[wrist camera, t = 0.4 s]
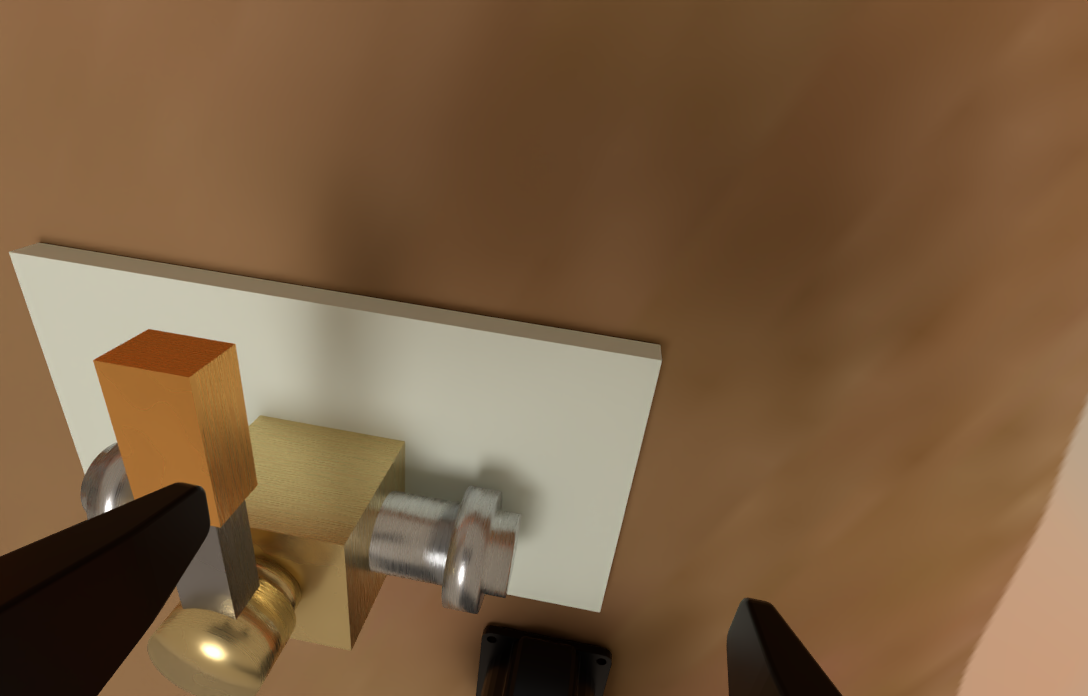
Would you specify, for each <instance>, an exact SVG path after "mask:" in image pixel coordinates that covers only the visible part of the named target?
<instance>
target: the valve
mask: <svg viewBox="0 0 1088 696" xmlns="http://www.w3.org/2000/svg"><path fill="white" fill-rule="evenodd" d="M249 433H250V439H251V445H252V451H253V458H254V464H255V470H256V477H257V483H258V485H257V486H256V488H255V489H254V490H253V491H252V492H251V493H250V494H249V496H248V497H247V498H246V499H245V502H246V508H247V514H248V519H249V525H250V531H251V536H252V542H253V548H254V554H255V559H256V565H257V571H258V576H259V578H261V579H263V580H264V581H266V582H268V583H269V584H271V585H272V586H274V587H275V588H276V589H278V590H279V591H280V592H281V593H282V594H283V595H284V596H285V597H286V598H287V599H288V601H289V602H290V604H291V605H292V607H293V609H294V611H295V615H296V627H295V629H294V631H293V633H292V635H291V636H290V638H292V639H297V640H302V641H307V642H311V643H316V644H321V645H326V646H331V647H336V648H340V649H345V650H350V651H351V650H352V648H353V646H354V644H355V642H356V640H357V637H358V635H359V633H360V631H361V629H362V627H363V625H364V623H365V620H366V618H367V616H368V614H369V612H370V610H371V608H372V605H373V603H374V601H375V599H376V597H377V595H378V593H379V591H380V588H381V586H382V584H383V582H384V580H385V578H386V576H387V575H391V576H396V577H401V578H406V579H411V580H416V581H421V582H427V583H432V584H437V585H442V605H443V607H444V608H449V609H454V610H459V611H464V612H469V613H474V614H478V612H479V610H480V608H481V605H482V602H483V599H484V595H485V594H488V595H493V596H498V597H503V598H506V595H507V592H508V588H509V584H510V579H511V575H512V570H513V565H514V560H515V554H516V549H517V543H518V537H519V530H520V523H521V514H518V513H513V512H507V511H502V491H497V490H492V489H486V488H481V487H476V486H469V487H468V489H467V490H466V492H465V494H464V496H463V499H462V501H461V503H459V502H454V501H448V500H443V499H438V498H432V497H427V496H422V495H416V494H411V493H406V492H405V441H400V440H395V439H389V438H384V437H378V436H373V435H367V434H362V433H356V432H350V431H345V430H339V429H334V428H328V427H323V426H317V425H312V424H306V423H301V422H295V421H290V420H284V419H279V418H273V417H267V416H262V415H260V416H259V417H258V418H257V419H256V420H255V421H254V422H253V423H252V424H251V425H249ZM133 500H134V497H133V494H132V490H131V487H130V484H129V480H128V477H127V473H126V470H125V467H124V463H123V460H122V457H121V453H120V450H119V447H118V443H117V442H116V443H114V444H112V445H110V446H108V447H107V448H105V449H104V450H103V451H102V452H101V453H100V454H99V455H98V456H97V457H96V458H95V459H94V460H93V462H92V463H91V465H90V466H89V468H88V470H87V472H86V474H85V476H84V479H83V482H82V486H81V502H82V506H83V508H84V510H85V511H86V512H87V518H88V519H90V518H93V517H95V516H97V515H100V514H102V513H104V512H107V511H109V510H112V509H114V508H116V507H119V506H121V505H123V504H126V503H128V502H130V501H133Z"/></svg>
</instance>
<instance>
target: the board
mask: <svg viewBox="0 0 1088 696" xmlns="http://www.w3.org/2000/svg"><path fill="white" fill-rule="evenodd" d="M9 254H10V257H11V260H12V263H13V266H14V268H15V271H16V274H17V277H18V280H19V283H20V286H21V289H22V292H23V295H24V298H25V301H26V304H27V306H28V309H29V312H30V315H31V318H32V321H33V324H34V327H35V330H36V333H37V336H38V339H39V342H40V344H41V347H42V350H43V353H44V356H45V359H46V362H47V365H48V368H49V371H50V374H51V377H52V380H53V382H54V385H55V388H56V391H57V394H58V397H59V400H60V403H61V406H62V409H63V412H64V415H65V418H66V420H67V423H68V426H69V429H70V432H71V435H72V438H73V441H74V444H75V447H76V450H77V453H78V456H79V459H80V461H81V464H82V467H83V470H84V473H85V474H86V472H87V470H88V468H89V466H90V465H91V463H92V462H93V460H94V459H95V458H96V457H97V456H98V455H99V454H100V453H101V452H102V451H103V450H104V449H105V448H107V447H108V446H110V445H112V444H114V443H116V442H117V440H116V436H115V433H114V430H113V426H112V423H111V420H110V416H109V413H108V410H107V406H106V403H105V399H104V396H103V393H102V389H101V386H100V383H99V379H98V376H97V373H96V369H95V366H94V362H93V360H94V359H96V358H98V357H100V356H101V355H103V354H105V353H107V352H108V351H110V350H112V349H114V348H116V347H117V346H119V345H121V344H123V343H124V342H126V341H128V340H130V339H132V338H133V337H135V336H137V335H139V334H140V333H142V332H144V331H146V330H148V329H152V330H158V331H164V332H169V333H175V334H181V335H187V336H193V337H198V338H204V339H210V340H216V341H222V342H227V343H233V344H236V350H237V357H238V363H239V369H240V376H241V382H242V388H243V395H244V401H245V407H246V414H247V420H248V426H249V425H251V424H252V423H253V422H254V421H255V420H256V419H257V418H258V417H259V416H260V415H262V416H267V417H273V418H279V419H284V420H290V421H295V422H301V423H306V424H312V425H317V426H323V427H328V428H334V429H339V430H345V431H350V432H356V433H362V434H367V435H373V436H378V437H384V438H389V439H395V440H400V441H405V492H406V493H411V494H416V495H422V496H427V497H432V498H438V499H443V500H448V501H454V502H459V503H461V501H462V499H463V496H464V494H465V492H466V490H467V489H468V487H469V486H476V487H481V488H486V489H492V490H497V491H502V511H507V512H513V513H518V514H521V523H520V530H519V537H518V543H517V549H516V554H515V560H514V565H513V570H512V575H511V579H510V584H509V588H508V592H507V594H508V595H513V596H518V597H523V598H529V599H534V600H539V601H544V602H549V603H554V604H559V605H564V606H569V607H574V608H580V609H585V610H590V611H595V612H600V610H601V606H602V602H603V598H604V594H605V590H606V585H607V581H608V577H609V573H610V569H611V565H612V561H613V557H614V553H615V549H616V545H617V541H618V537H619V533H620V529H621V525H622V521H623V517H624V513H625V509H626V505H627V501H628V496H629V492H630V488H631V484H632V480H633V476H634V472H635V468H636V464H637V460H638V456H639V452H640V448H641V444H642V440H643V436H644V432H645V428H646V424H647V420H648V416H649V411H650V407H651V403H652V399H653V395H654V391H655V387H656V383H657V379H658V375H659V371H660V367H661V363H662V355H661V346H660V345H659V344H653V343H646V342H640V341H634V340H628V339H622V338H616V337H610V336H604V335H598V334H592V333H586V332H580V331H574V330H567V329H561V328H555V327H549V326H543V325H537V324H531V323H525V322H519V321H513V320H507V319H501V318H495V317H488V316H482V315H476V314H470V313H464V312H458V311H452V310H446V309H440V308H434V307H428V306H422V305H415V304H409V303H403V302H397V301H391V300H385V299H379V298H373V297H367V296H361V295H355V294H349V293H343V292H336V291H330V290H324V289H318V288H312V287H306V286H300V285H294V284H288V283H282V282H276V281H270V280H263V279H257V278H251V277H245V276H239V275H233V274H227V273H221V272H215V271H209V270H203V269H197V268H191V267H184V266H178V265H172V264H166V263H160V262H154V261H148V260H142V259H136V258H130V257H124V256H118V255H112V254H105V253H99V252H93V251H87V250H81V249H75V248H69V247H63V246H57V245H51V244H45V243H36V244H33V245H30V246H27V247H23V248H20V249H17V250H14V251H10V252H9Z"/></svg>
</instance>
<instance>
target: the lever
mask: <svg viewBox="0 0 1088 696" xmlns="http://www.w3.org/2000/svg"><path fill="white" fill-rule="evenodd" d="M93 362H94V366H95V369H96V373H97V376H98V379H99V383H100V386H101V389H102V393H103V396H104V399H105V403H106V406H107V410H108V413H109V416H110V420H111V423H112V426H113V430H114V433H115V436H116V440H117V443H118V447H119V450H120V453H121V457H122V460H123V463H124V467H125V470H126V473H127V477H128V480H129V484H130V487H131V490H132V494H133V497H134V500H135V499H138V498H140V497H142V496H145V495H147V494H149V493H152V492H154V491H156V490H159V489H161V488H164V487H166V486H168V485H171V484H173V483H177V482H184V483H189V484H193V485H198V486H201V487H202V488H203V489H204V490H205V492H206V497H207V503H208V509H209V515H210V530H209V533H208V535H207V537H206V539H205V541H204V542H203V544H202V546H201V547H200V549H199V550H198V552H197V553H196V555H195V557H194V558H193V560H192V561H191V563H190V565H189V566H188V568H187V569H186V571H185V573H184V574H183V576H182V577H181V579H180V581H179V582H178V584H177V585H176V586H177V590H178V593H179V597H180V602H179V603H178V605H177V606H176V607H175V608H174V610H173V611H172V612H171V613H170V614H169V616H168V617H167V618H166V619H165V620H164V622H163V623H162V624H161V625H160V626H159V628H158V629H157V630H156V631H155V632H154V634H153V635H152V636H151V637H150V639H149V641H148V645H147V648H148V654H149V657H150V659H151V661H152V663H153V664H154V666H155V667H156V668H157V670H158V671H159V672H160V673H161V674H162V675H163V676H164V677H166V678H167V679H168V680H169V681H171V682H172V683H173V684H175V685H176V686H178V687H179V688H181V689H183V690H185V691H187V692H189V693H191V694H193V695H196V696H255V695H256V694H257V692H258V691H259V689H260V687H261V686H262V684H263V682H264V681H265V679H266V677H267V676H268V674H269V672H270V670H271V669H272V667H273V665H274V664H275V662H276V660H277V658H278V657H279V655H280V653H281V652H282V650H283V648H284V647H285V645H286V643H287V641H288V640H289V638H290V636H291V635H292V633H293V631H294V629H295V627H296V615H295V611H294V609H293V607H292V605H291V604H290V602H289V601H288V599H287V598H286V597H285V596H284V595H283V594H282V593H281V592H280V591H279V590H278V589H276V588H275V587H274V586H272V585H271V584H269V583H268V582H266V581H264V580H263V579H261V578H259V576H258V571H257V565H256V559H255V554H254V548H253V542H252V536H251V531H250V525H249V519H248V514H247V508H246V502H245V499H246V498H247V497H248V496H249V494H250V493H251V492H252V491H253V490H254V489H255V488H256V486H257V485H258V483H257V477H256V470H255V464H254V458H253V451H252V445H251V439H250V433H249V426H248V420H247V414H246V407H245V401H244V395H243V388H242V382H241V376H240V369H239V363H238V357H237V350H236V344H233V343H227V342H222V341H216V340H210V339H204V338H198V337H193V336H187V335H181V334H175V333H169V332H164V331H158V330H152V329H148V330H146V331H144V332H142V333H140V334H139V335H137V336H135V337H133V338H132V339H130V340H128V341H126V342H124V343H123V344H121V345H119V346H117V347H116V348H114V349H112V350H110V351H108V352H107V353H105V354H103V355H101V356H100V357H98V358H96V359H94V360H93Z"/></svg>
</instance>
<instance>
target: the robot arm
mask: <svg viewBox="0 0 1088 696" xmlns="http://www.w3.org/2000/svg"><path fill="white" fill-rule="evenodd" d="M209 530H210V515H209V509H208V503H207V497H206V492H205V490H204V489H203V488H202V487H201V486H198V485H193V484H189V483H184V482H177V483H173V484H171V485H168V486H166V487H164V488H161V489H159V490H156V491H154V492H152V493H149V494H147V495H145V496H142V497H140V498H138V499H135V500H133V501H130V502H128V503H126V504H123V505H121V506H119V507H116V508H114V509H112V510H109V511H107V512H104V513H102V514H100V515H97V516H95V517H93V518H90V519H88V520H86V521H83V522H81V523H78V524H76V525H74V526H71V527H69V528H67V529H64V530H62V531H60V532H57V533H55V534H52V535H50V536H48V537H45V538H43V539H41V540H38V541H36V542H34V543H31V544H29V545H26V546H24V547H22V548H19V549H17V550H15V551H12V552H10V553H8V554H5V555H3V556H0V696H97V695H98V694H99V693H100V691H101V690H102V689H103V687H104V686H105V685H106V683H107V682H108V681H109V680H110V678H111V677H112V676H113V674H114V673H115V672H116V670H117V669H118V668H119V666H120V665H121V664H122V663H123V661H124V660H125V659H126V657H127V656H128V655H129V653H130V652H131V651H132V649H133V648H134V647H135V645H136V644H137V643H138V642H139V640H140V639H141V638H142V636H143V635H144V634H145V632H146V631H147V629H148V628H149V627H150V625H151V624H152V623H153V621H154V620H155V618H156V617H157V615H158V614H159V612H160V611H161V609H162V608H163V606H164V605H165V603H166V601H167V600H168V598H169V597H170V595H171V593H172V592H173V590H174V589H175V587H176V585H177V584H178V582H179V581H180V579H181V577H182V576H183V574H184V573H185V571H186V569H187V568H188V566H189V565H190V563H191V561H192V560H193V558H194V557H195V555H196V553H197V552H198V550H199V549H200V547H201V546H202V544H203V542H204V541H205V539H206V537H207V535H208V533H209ZM611 664H612V653H611V652H610V651H609V650H608V649H605V648H601V647H596V646H591V645H586V644H581V643H576V642H571V641H566V640H561V639H557V638H552V637H547V636H542V635H537V634H532V633H527V632H522V631H517V630H512V629H507V628H502V627H497V626H487V627H486V628H485V629H484V632H483V636H482V642H481V652H480V662H479V672H478V682H477V692H476V696H603V693H604V689H605V685H606V682H607V678H608V675H609V671H610V668H611ZM727 664H728V683H729V696H842V694H841V693H840V692H839V690H838V689H837V688H836V687H835V685H834V684H833V683H832V681H831V680H830V679H829V677H828V676H827V675H826V674H825V672H824V671H823V670H822V668H821V667H820V666H819V664H818V663H817V662H816V661H815V659H814V658H813V657H812V655H811V654H810V653H809V651H808V650H807V649H806V648H805V646H804V645H803V644H802V642H801V641H800V640H799V638H798V637H797V636H796V635H795V633H794V632H793V631H792V629H791V628H790V627H789V625H788V624H787V623H786V622H785V620H784V619H783V618H782V616H781V615H780V614H779V612H778V611H777V610H776V609H775V607H774V606H773V605H772V604H770V603H769V602H766V601H762V600H757V599H752V598H744V599H743V600H742V601H741V603H740V605H739V607H738V609H737V612H736V614H735V617H734V619H733V621H732V624H731V626H730V629H729V631H728V635H727Z"/></svg>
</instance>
